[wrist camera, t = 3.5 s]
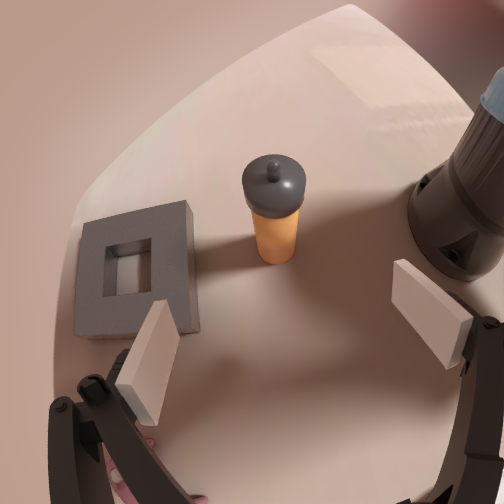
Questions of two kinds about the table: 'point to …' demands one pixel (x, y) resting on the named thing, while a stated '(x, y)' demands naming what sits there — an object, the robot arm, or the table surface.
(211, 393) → the table surface
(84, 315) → the grey square socket block
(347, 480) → the table surface
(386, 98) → the table surface
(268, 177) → the orange lidded canister
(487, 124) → the robot arm
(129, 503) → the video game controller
